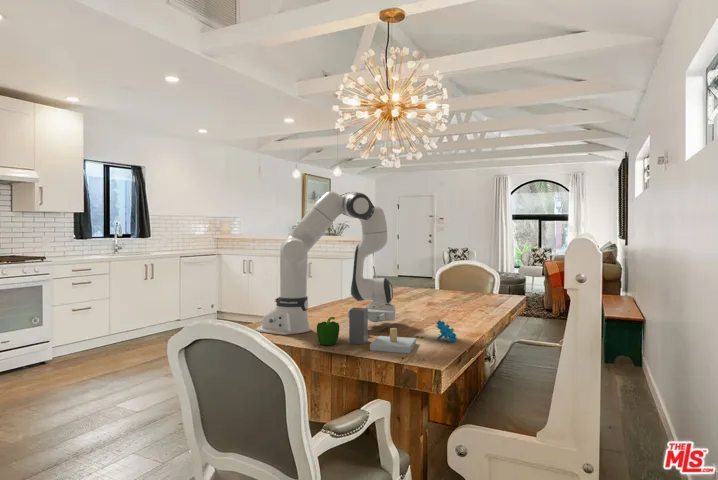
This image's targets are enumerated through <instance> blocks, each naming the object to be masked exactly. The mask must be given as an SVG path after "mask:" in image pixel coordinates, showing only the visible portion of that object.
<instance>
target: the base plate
mask: <svg viewBox="0 0 718 480" xmlns="http://www.w3.org/2000/svg"><path fill="white" fill-rule="evenodd" d="M416 344H417V338H416V337H404V336H402V337H401V336H398V328H396V327H390V328H389V336H385V335H379V336H377V337H376V338H375V339H374V340H373V341H372V342H371V343H370V344H369V351H372V352H373V351H374V352H375V351H377V352H387V353H389V352H390V353H401V354H402V353H403V354H410V353H411V352H412V350H413V349H414V347H415V346H416Z"/></svg>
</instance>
